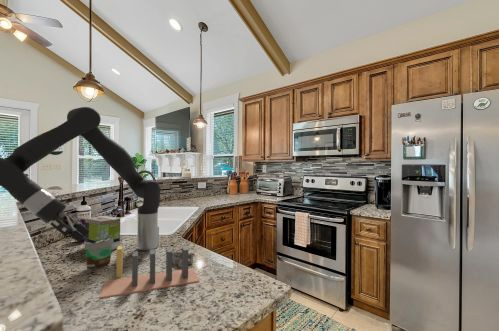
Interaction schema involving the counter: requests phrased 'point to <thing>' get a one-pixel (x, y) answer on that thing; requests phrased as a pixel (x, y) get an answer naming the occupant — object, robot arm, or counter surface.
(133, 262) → the charcoal domino
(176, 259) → the egg carton
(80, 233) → the potion bottle
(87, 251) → the food container
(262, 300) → the counter surface
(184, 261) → the charcoal domino
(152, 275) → the charcoal domino
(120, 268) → the ochre domino
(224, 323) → the counter surface
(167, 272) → the charcoal domino
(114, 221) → the tea box
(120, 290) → the terracotta mat
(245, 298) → the counter surface
